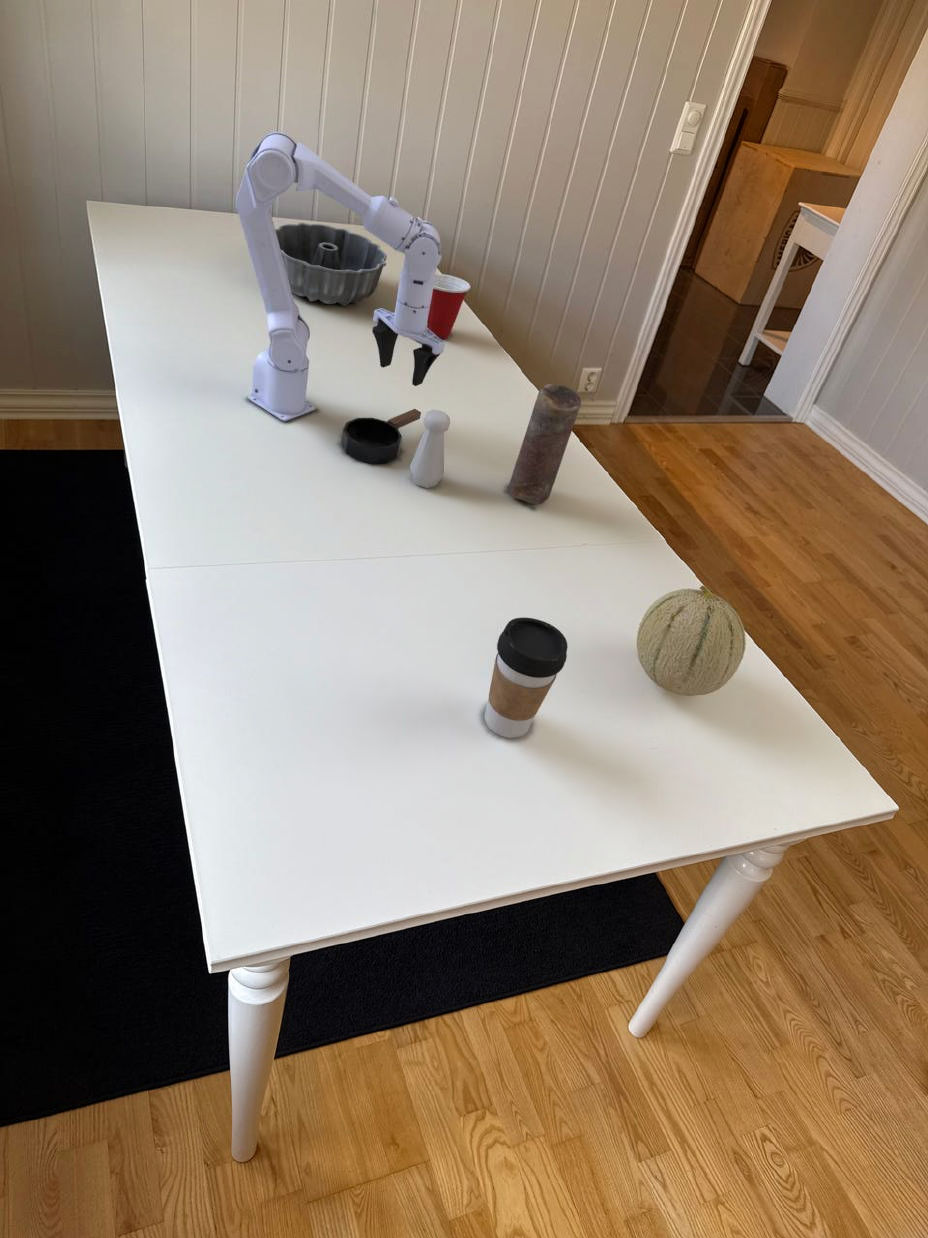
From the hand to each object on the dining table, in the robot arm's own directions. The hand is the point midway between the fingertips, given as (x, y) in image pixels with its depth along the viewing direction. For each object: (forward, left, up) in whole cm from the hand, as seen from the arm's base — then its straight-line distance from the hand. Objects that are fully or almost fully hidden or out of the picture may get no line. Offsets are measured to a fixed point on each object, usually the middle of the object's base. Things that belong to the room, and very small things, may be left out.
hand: (401, 374), depth 156 cm
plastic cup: (-21, +39, -10) cm, 45 cm away
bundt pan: (-49, +32, -10) cm, 59 cm away
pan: (+4, -6, -10) cm, 12 cm away
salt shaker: (+16, -10, -10) cm, 21 cm away
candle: (+30, +2, -10) cm, 32 cm away
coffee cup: (+58, -44, -10) cm, 73 cm away
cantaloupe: (+70, -19, -10) cm, 73 cm away
